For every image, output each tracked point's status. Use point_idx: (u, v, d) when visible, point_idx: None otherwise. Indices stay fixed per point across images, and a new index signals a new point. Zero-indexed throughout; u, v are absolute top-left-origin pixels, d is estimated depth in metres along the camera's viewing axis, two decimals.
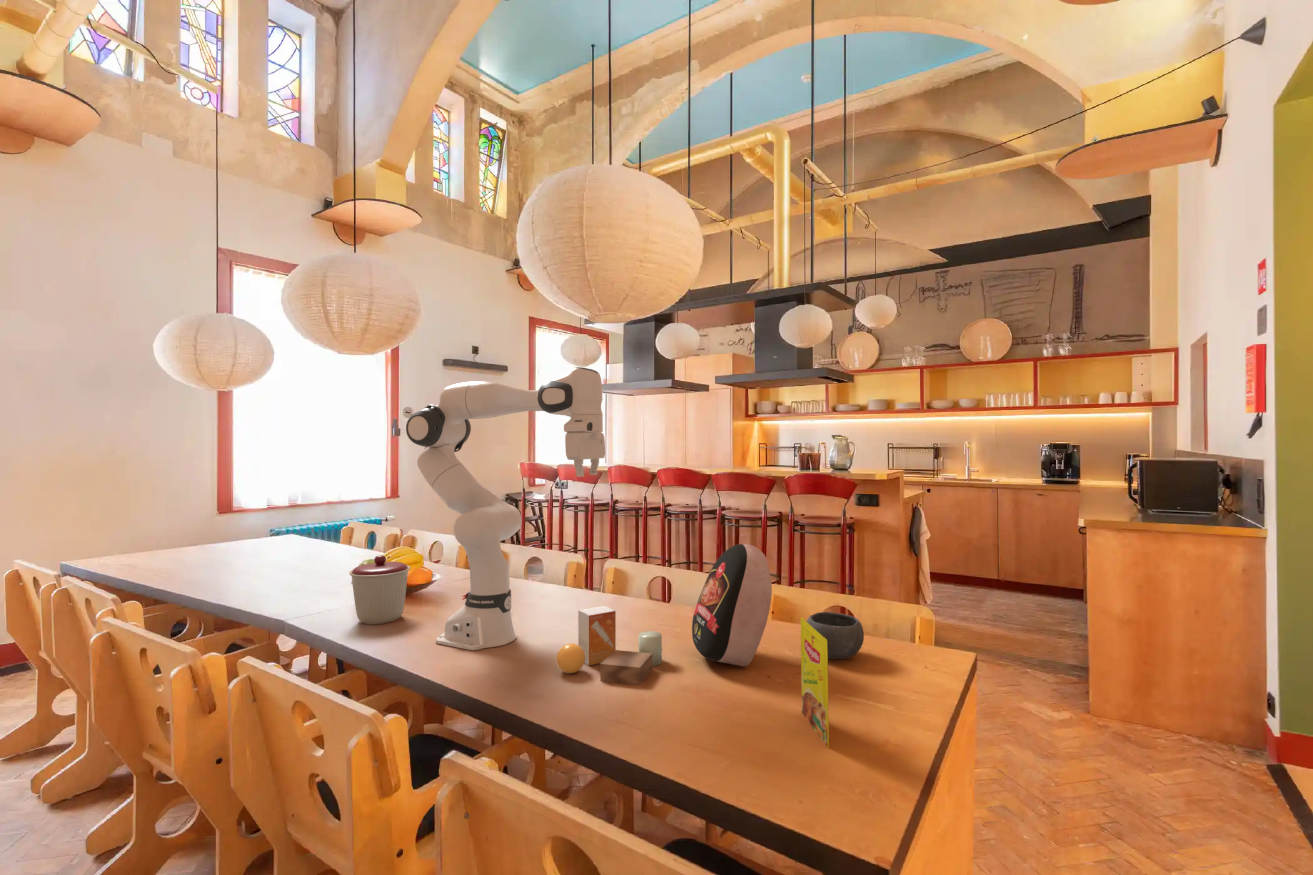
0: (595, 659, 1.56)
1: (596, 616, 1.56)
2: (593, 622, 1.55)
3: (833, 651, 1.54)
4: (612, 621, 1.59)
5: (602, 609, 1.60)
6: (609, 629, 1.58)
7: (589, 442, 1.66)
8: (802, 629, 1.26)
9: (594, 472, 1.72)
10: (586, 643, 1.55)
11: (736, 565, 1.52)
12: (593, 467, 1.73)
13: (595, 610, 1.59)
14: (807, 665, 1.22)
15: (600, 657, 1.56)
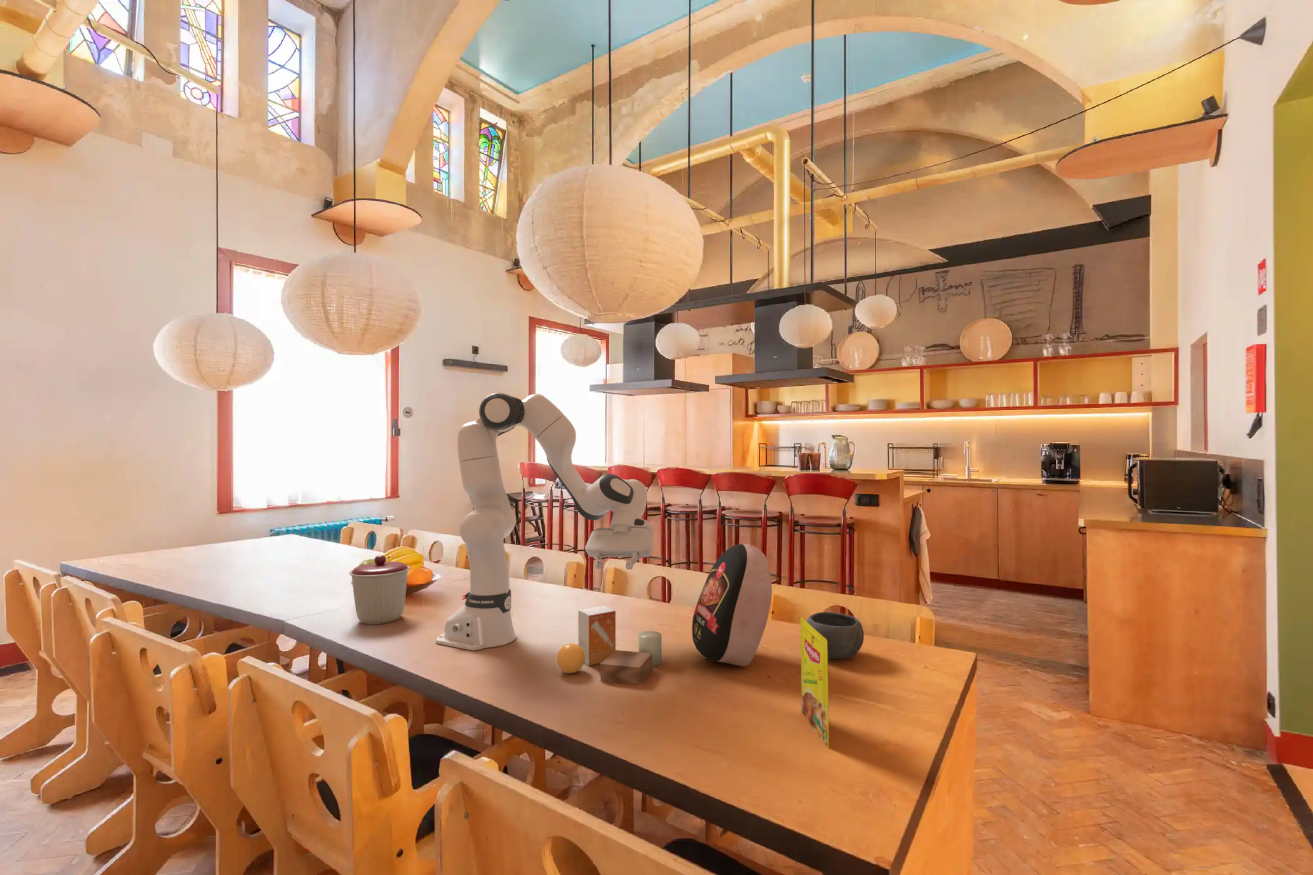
0: (595, 659, 1.56)
1: (596, 616, 1.56)
2: (593, 622, 1.55)
3: (833, 651, 1.54)
4: (612, 621, 1.59)
5: (602, 609, 1.60)
6: (609, 629, 1.58)
7: None
8: (802, 629, 1.26)
9: (601, 566, 1.73)
10: (586, 643, 1.55)
11: (736, 565, 1.52)
12: None
13: (595, 610, 1.59)
14: (807, 665, 1.22)
15: (600, 657, 1.56)
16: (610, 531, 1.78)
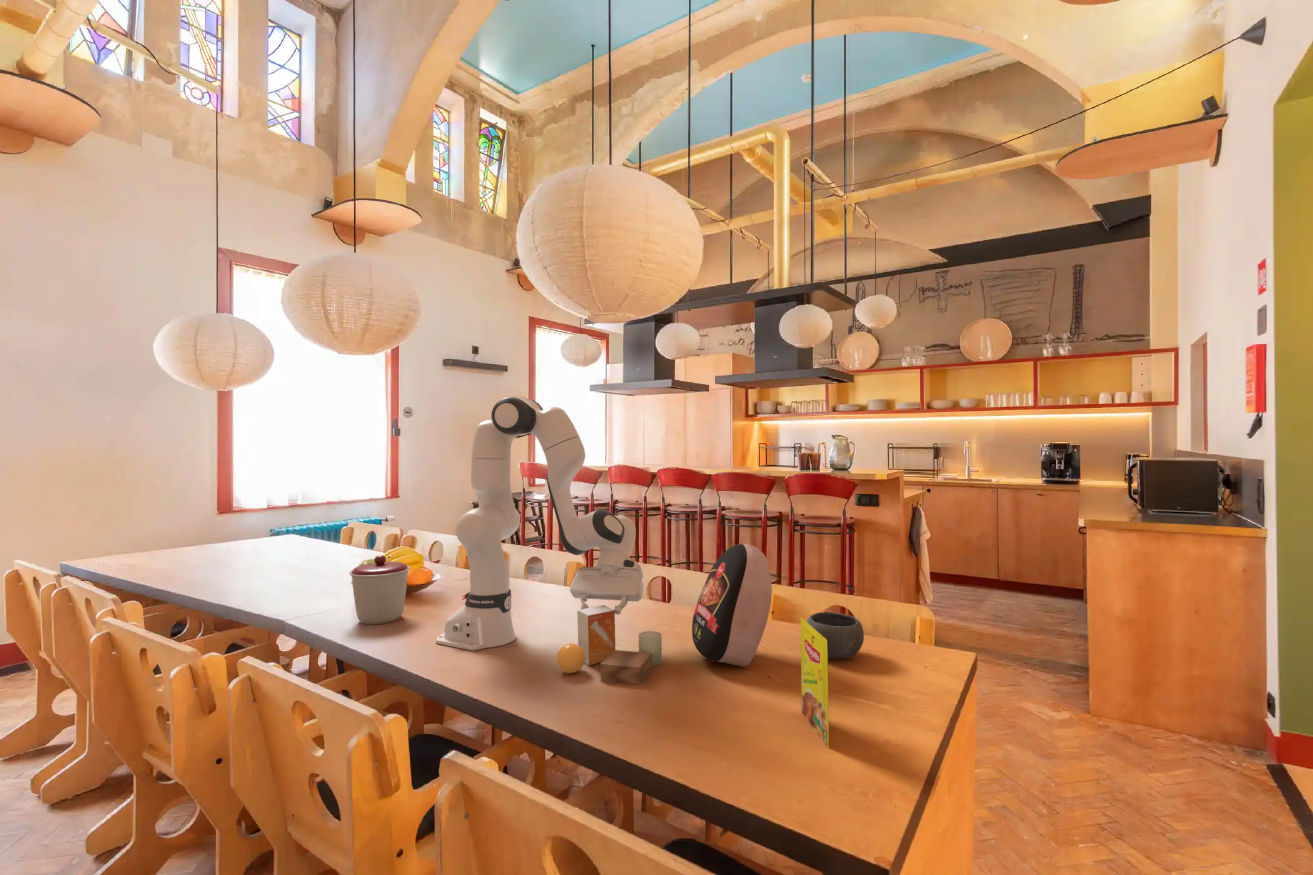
0: (595, 659, 1.56)
1: (595, 616, 1.56)
2: (592, 622, 1.55)
3: (833, 651, 1.54)
4: (611, 620, 1.58)
5: (601, 609, 1.60)
6: (608, 628, 1.58)
7: None
8: (802, 629, 1.26)
9: None
10: (586, 643, 1.55)
11: (736, 565, 1.52)
12: (584, 604, 1.64)
13: (594, 610, 1.59)
14: (807, 665, 1.22)
15: (600, 656, 1.56)
16: (597, 571, 1.69)
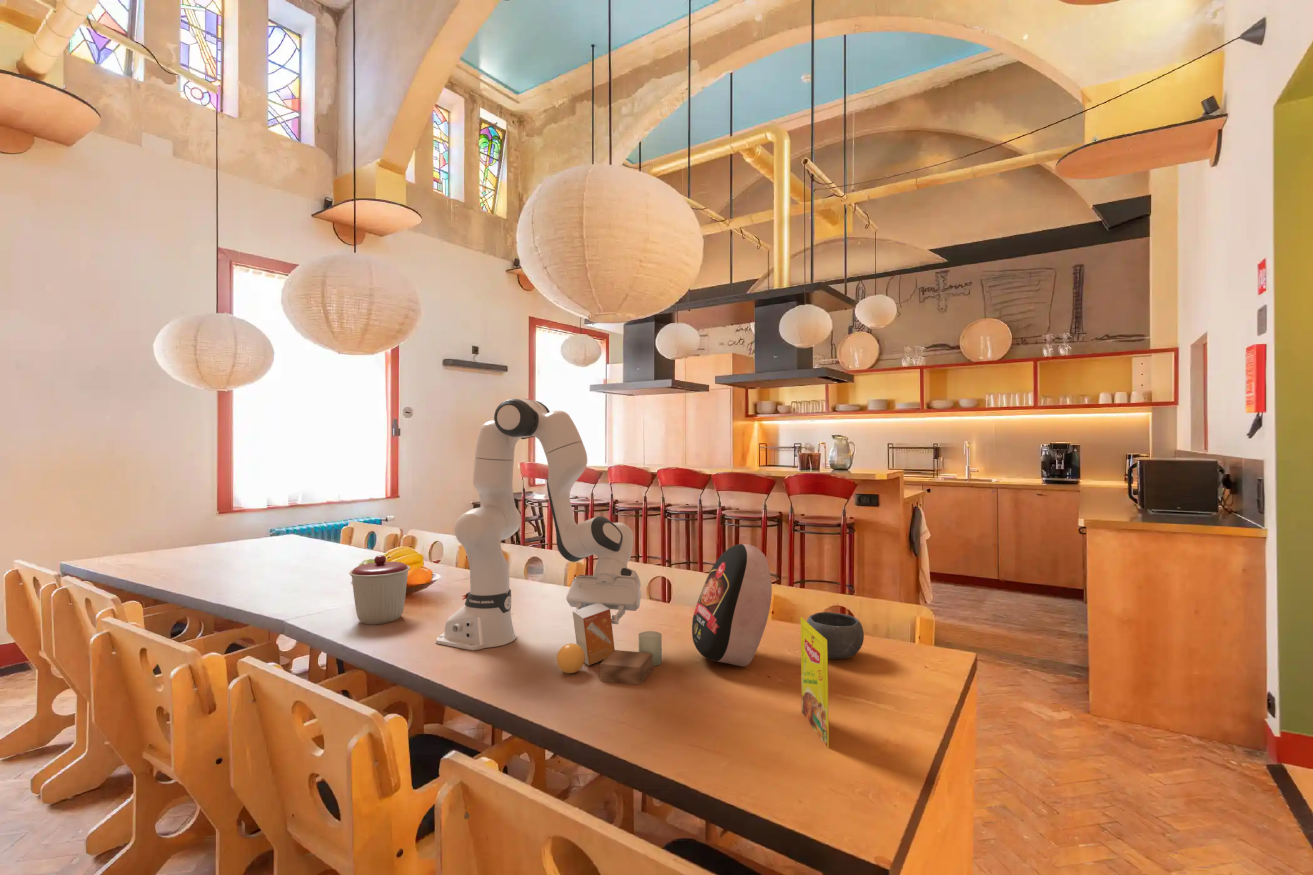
0: (595, 658, 1.55)
1: (590, 618, 1.54)
2: (588, 624, 1.54)
3: (833, 651, 1.54)
4: (608, 619, 1.57)
5: (596, 608, 1.58)
6: (605, 627, 1.57)
7: None
8: (802, 629, 1.26)
9: None
10: (584, 644, 1.55)
11: (736, 565, 1.52)
12: None
13: (589, 610, 1.57)
14: (807, 665, 1.22)
15: (599, 655, 1.56)
16: (594, 580, 1.66)
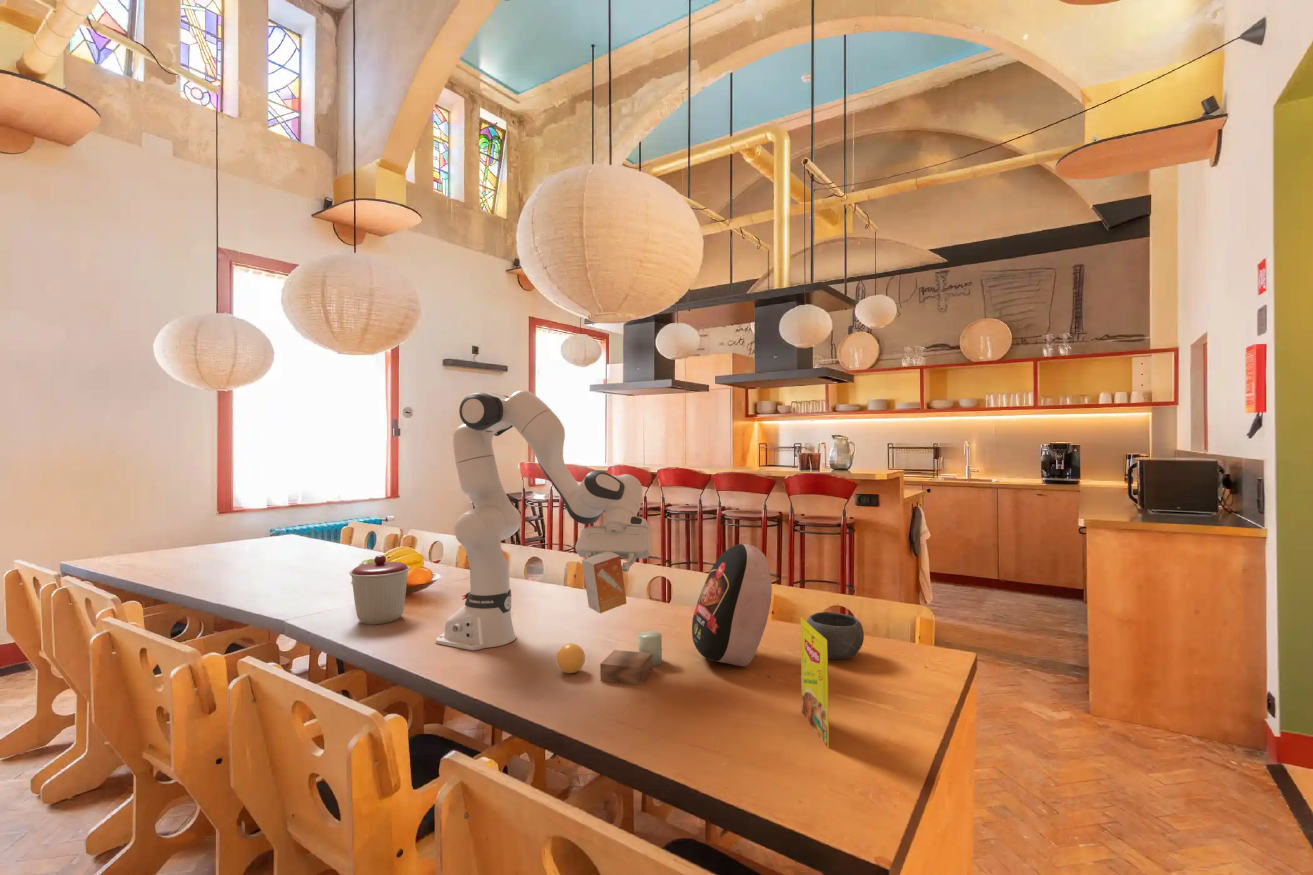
0: (606, 606, 1.52)
1: (601, 564, 1.50)
2: (598, 571, 1.50)
3: (833, 651, 1.54)
4: (618, 566, 1.53)
5: (606, 555, 1.54)
6: (616, 574, 1.53)
7: None
8: (802, 629, 1.26)
9: None
10: (595, 591, 1.51)
11: (736, 565, 1.52)
12: None
13: (599, 557, 1.54)
14: (807, 665, 1.22)
15: (611, 603, 1.53)
16: (603, 529, 1.63)
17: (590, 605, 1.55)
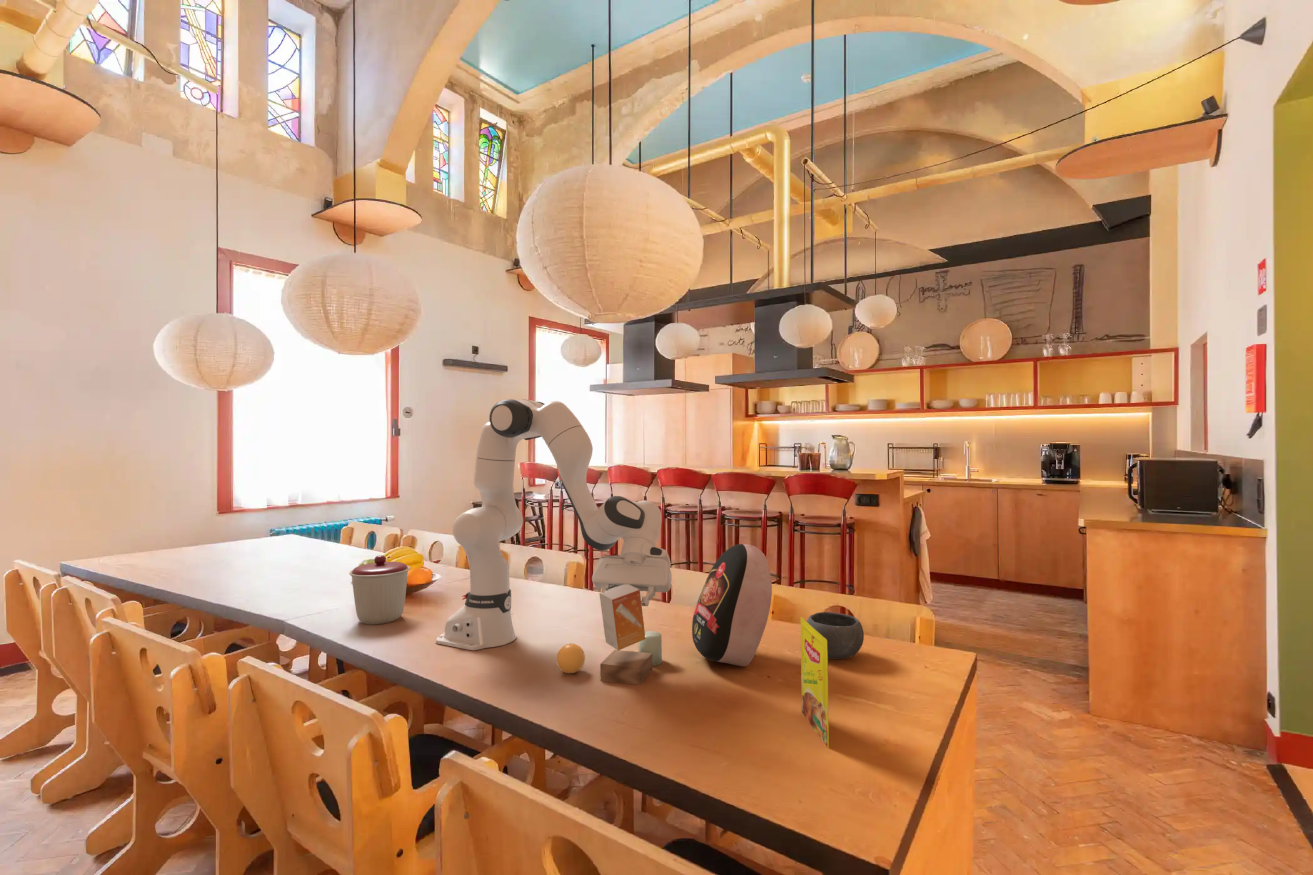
0: (624, 642, 1.45)
1: (620, 599, 1.43)
2: (617, 606, 1.43)
3: (833, 651, 1.54)
4: (637, 601, 1.46)
5: (625, 589, 1.47)
6: (635, 609, 1.46)
7: None
8: (802, 629, 1.26)
9: None
10: (613, 627, 1.44)
11: (736, 565, 1.52)
12: None
13: (618, 591, 1.46)
14: (807, 665, 1.22)
15: (629, 639, 1.45)
16: (621, 560, 1.56)
17: (607, 641, 1.48)
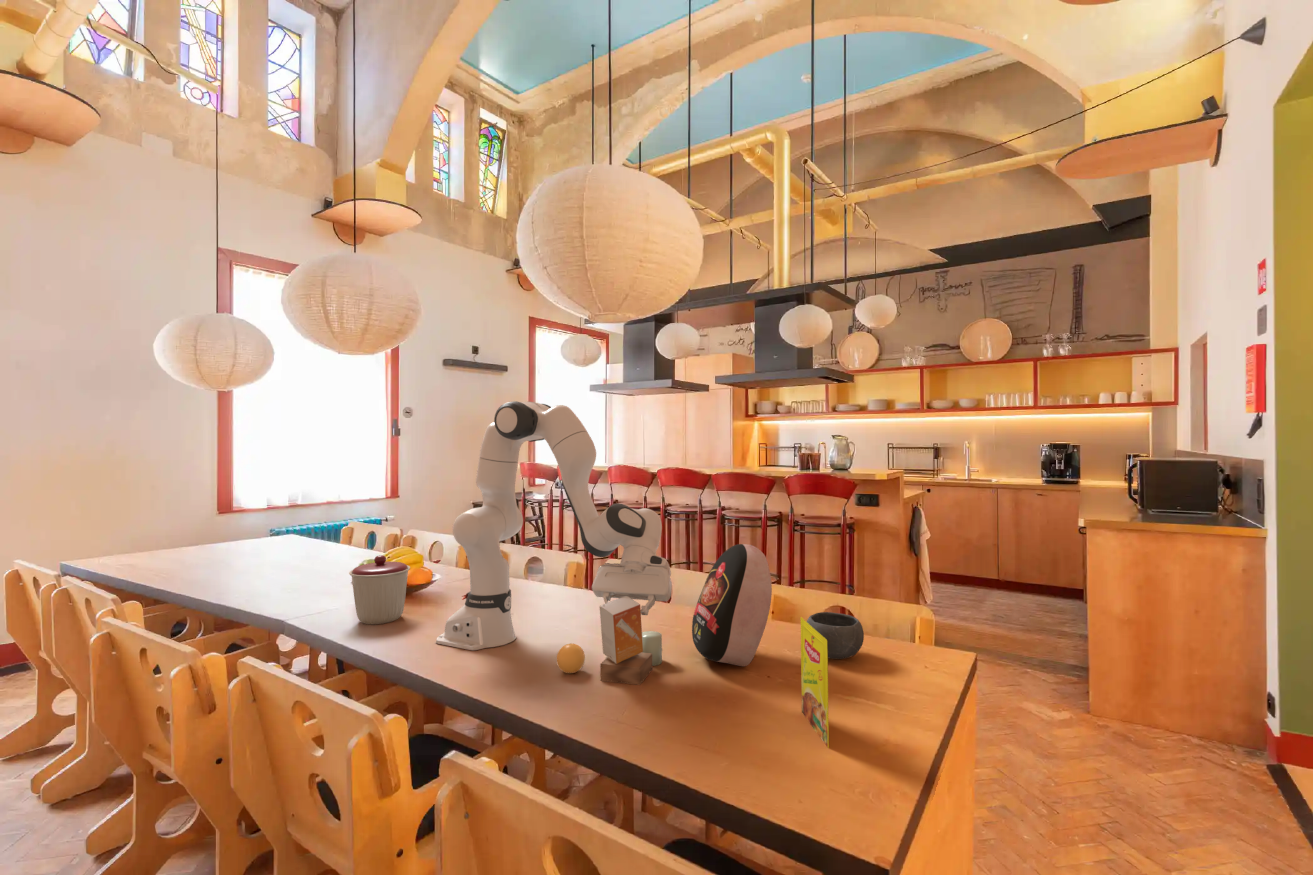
0: (622, 656, 1.45)
1: (620, 614, 1.43)
2: (617, 621, 1.43)
3: (833, 651, 1.54)
4: (637, 615, 1.46)
5: (625, 603, 1.47)
6: (634, 624, 1.46)
7: None
8: (802, 629, 1.26)
9: None
10: (612, 641, 1.44)
11: (736, 565, 1.52)
12: None
13: (618, 605, 1.46)
14: (807, 665, 1.22)
15: (627, 653, 1.46)
16: (621, 568, 1.56)
17: (605, 652, 1.48)
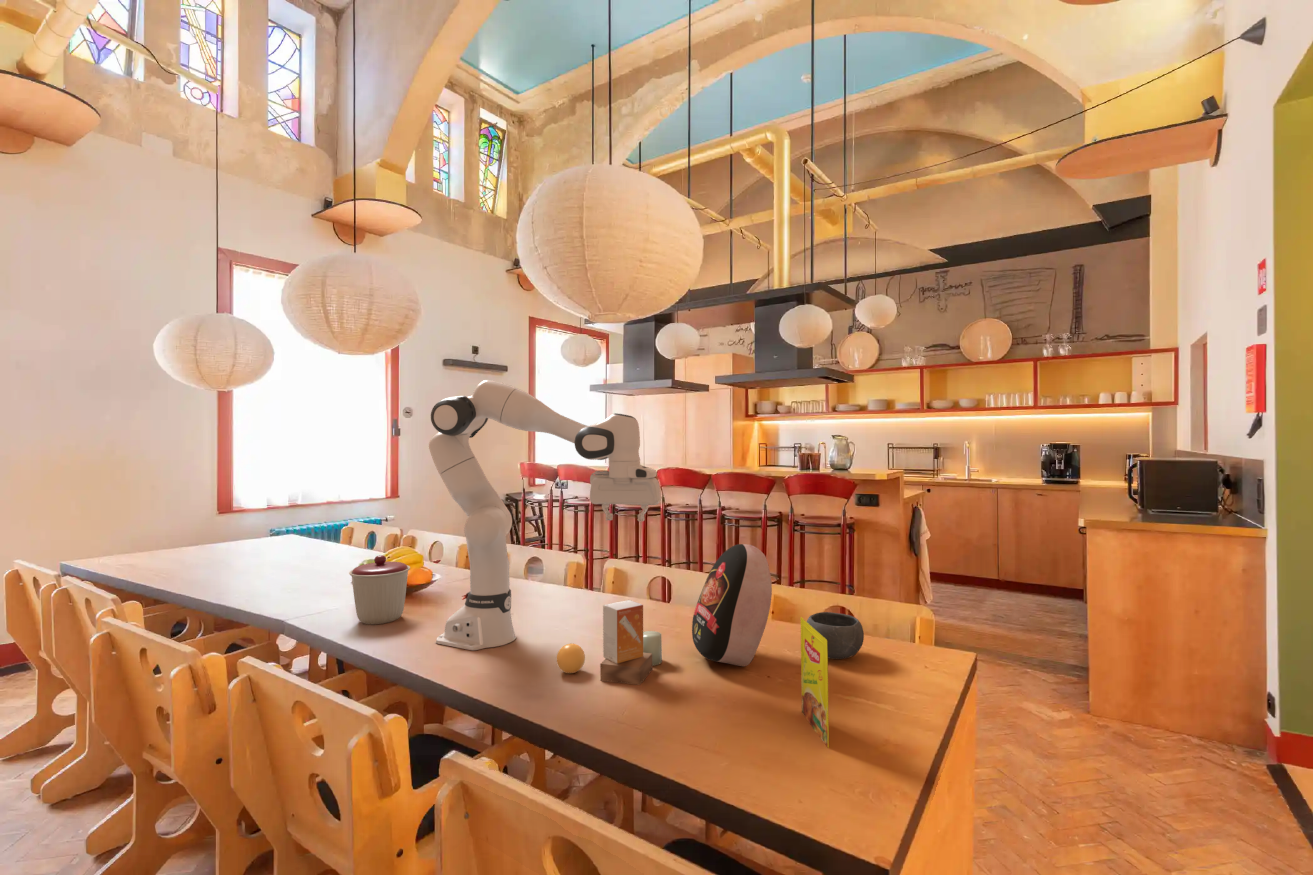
0: (623, 656, 1.46)
1: (624, 611, 1.46)
2: (621, 617, 1.45)
3: (833, 651, 1.54)
4: (640, 616, 1.49)
5: (628, 603, 1.50)
6: (637, 624, 1.48)
7: None
8: (802, 629, 1.26)
9: (612, 517, 1.72)
10: (614, 639, 1.45)
11: (736, 565, 1.52)
12: (608, 512, 1.71)
13: (621, 604, 1.49)
14: (807, 665, 1.22)
15: (628, 654, 1.47)
16: (611, 480, 1.69)
17: (605, 655, 1.48)
